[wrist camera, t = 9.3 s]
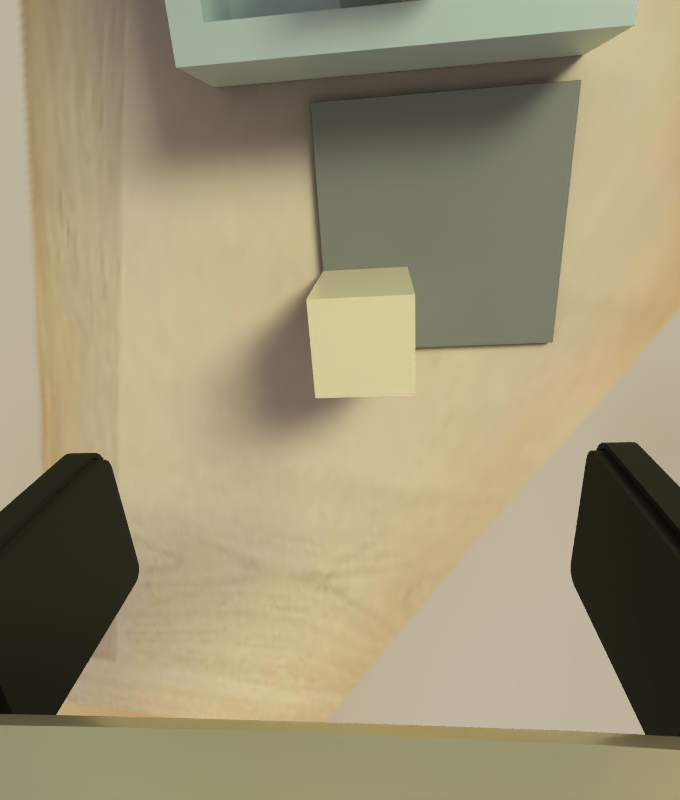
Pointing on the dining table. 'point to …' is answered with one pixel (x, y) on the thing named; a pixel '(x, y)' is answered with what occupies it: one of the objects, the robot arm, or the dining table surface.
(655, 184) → the dining table surface
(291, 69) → the blue bin
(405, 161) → the dark mat
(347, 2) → the stone
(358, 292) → the stone
